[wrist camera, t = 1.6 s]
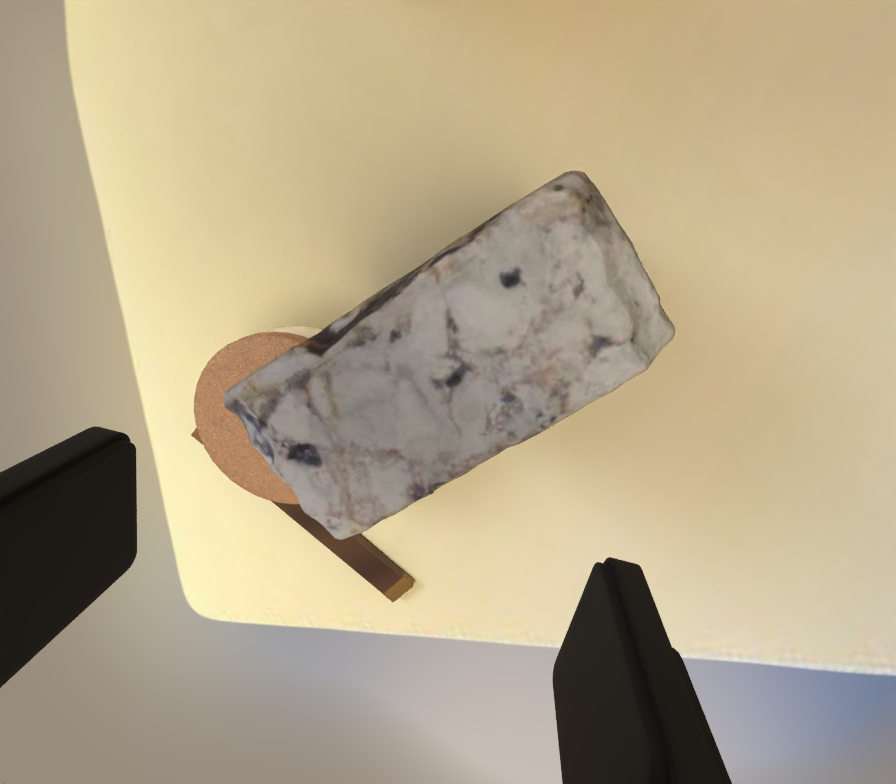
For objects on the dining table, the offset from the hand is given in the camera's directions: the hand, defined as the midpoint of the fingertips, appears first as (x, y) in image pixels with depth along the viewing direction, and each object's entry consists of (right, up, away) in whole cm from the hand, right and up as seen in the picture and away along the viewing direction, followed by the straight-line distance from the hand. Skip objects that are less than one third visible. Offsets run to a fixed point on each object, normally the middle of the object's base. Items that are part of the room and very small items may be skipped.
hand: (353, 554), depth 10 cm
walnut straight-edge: (-9, -6, +30) cm, 32 cm away
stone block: (+4, +10, +23) cm, 25 cm away
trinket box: (-7, +4, +26) cm, 27 cm away
